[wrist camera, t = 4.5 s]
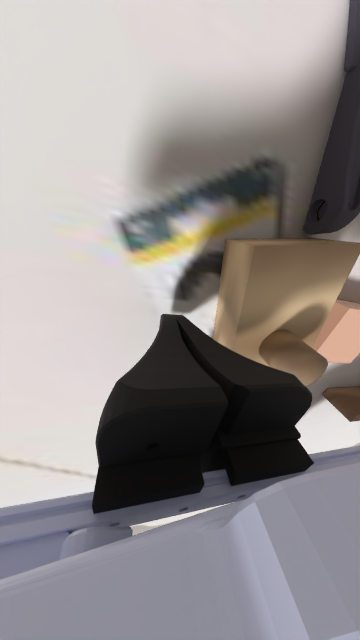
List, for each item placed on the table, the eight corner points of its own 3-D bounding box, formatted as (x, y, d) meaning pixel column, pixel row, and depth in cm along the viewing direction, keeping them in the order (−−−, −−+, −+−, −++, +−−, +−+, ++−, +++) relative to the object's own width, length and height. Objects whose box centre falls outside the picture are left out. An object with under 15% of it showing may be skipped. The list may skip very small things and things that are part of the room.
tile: (325, 346, 18) (350, 363, 16) (287, 343, 16) (309, 361, 14) (359, 302, 15) (393, 315, 13) (318, 295, 14) (349, 308, 12)
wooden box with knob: (262, 366, 17) (310, 425, 12) (207, 374, 17) (234, 441, 12) (307, 237, 11) (435, 250, 6) (223, 238, 10) (296, 255, 5)
